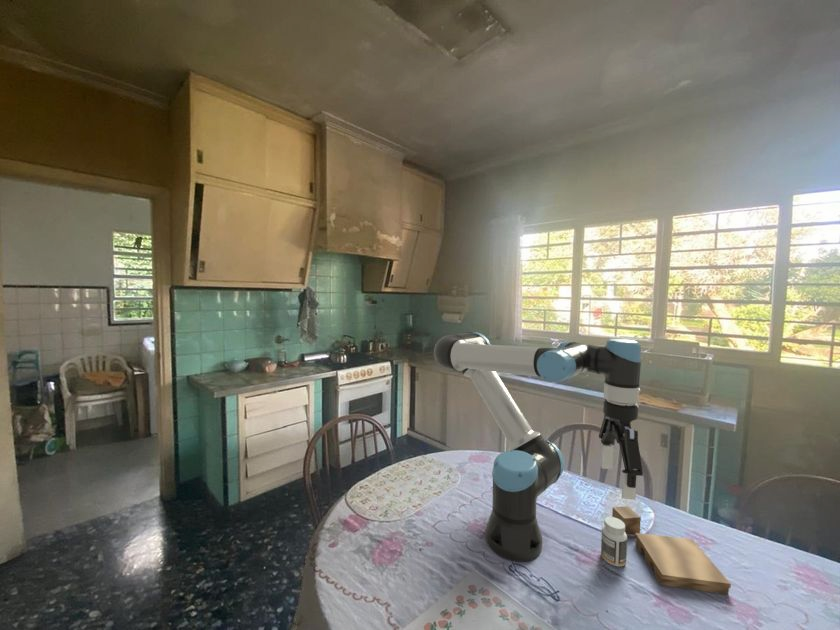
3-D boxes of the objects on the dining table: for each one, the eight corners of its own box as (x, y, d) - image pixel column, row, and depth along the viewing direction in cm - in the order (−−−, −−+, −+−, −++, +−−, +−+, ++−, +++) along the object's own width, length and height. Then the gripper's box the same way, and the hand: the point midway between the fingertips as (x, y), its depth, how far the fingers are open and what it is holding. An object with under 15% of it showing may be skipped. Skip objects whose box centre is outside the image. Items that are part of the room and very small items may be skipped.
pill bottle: (619, 551, 90) (621, 515, 89) (630, 568, 84) (632, 531, 84) (597, 549, 90) (598, 514, 90) (606, 566, 85) (608, 529, 84)
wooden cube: (623, 535, 96) (624, 518, 96) (611, 523, 101) (612, 507, 101) (639, 534, 96) (640, 517, 96) (627, 522, 101) (628, 506, 101)
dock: (661, 586, 79) (662, 574, 79) (634, 543, 93) (635, 532, 93) (729, 596, 77) (730, 583, 76) (691, 549, 90) (692, 539, 90)
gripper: (664, 420, 72) (658, 515, 73) (616, 387, 96) (613, 459, 98) (626, 418, 73) (621, 511, 74) (588, 386, 97) (585, 457, 99)
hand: (616, 482), depth 86 cm, fingers open, 13 cm apart
